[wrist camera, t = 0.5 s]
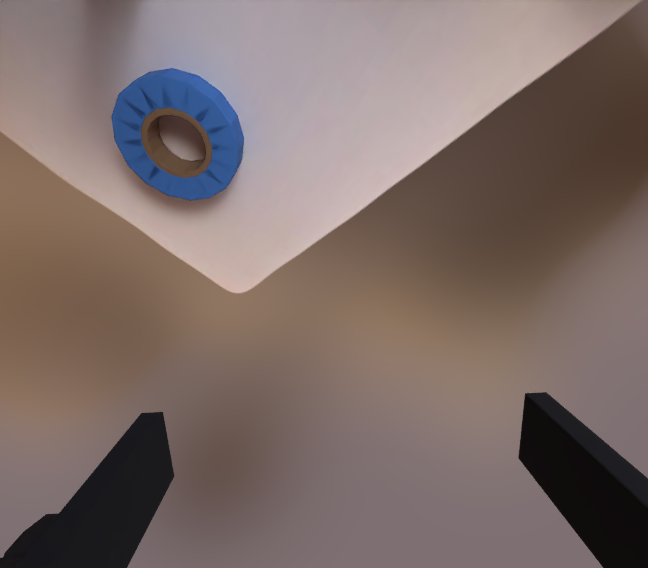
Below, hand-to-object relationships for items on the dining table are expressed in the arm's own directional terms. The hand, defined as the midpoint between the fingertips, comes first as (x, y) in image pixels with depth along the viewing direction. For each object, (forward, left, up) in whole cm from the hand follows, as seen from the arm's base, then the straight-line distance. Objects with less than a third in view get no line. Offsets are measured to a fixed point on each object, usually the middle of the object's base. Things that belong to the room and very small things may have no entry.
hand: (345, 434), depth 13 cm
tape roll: (-8, -14, -32) cm, 36 cm away
